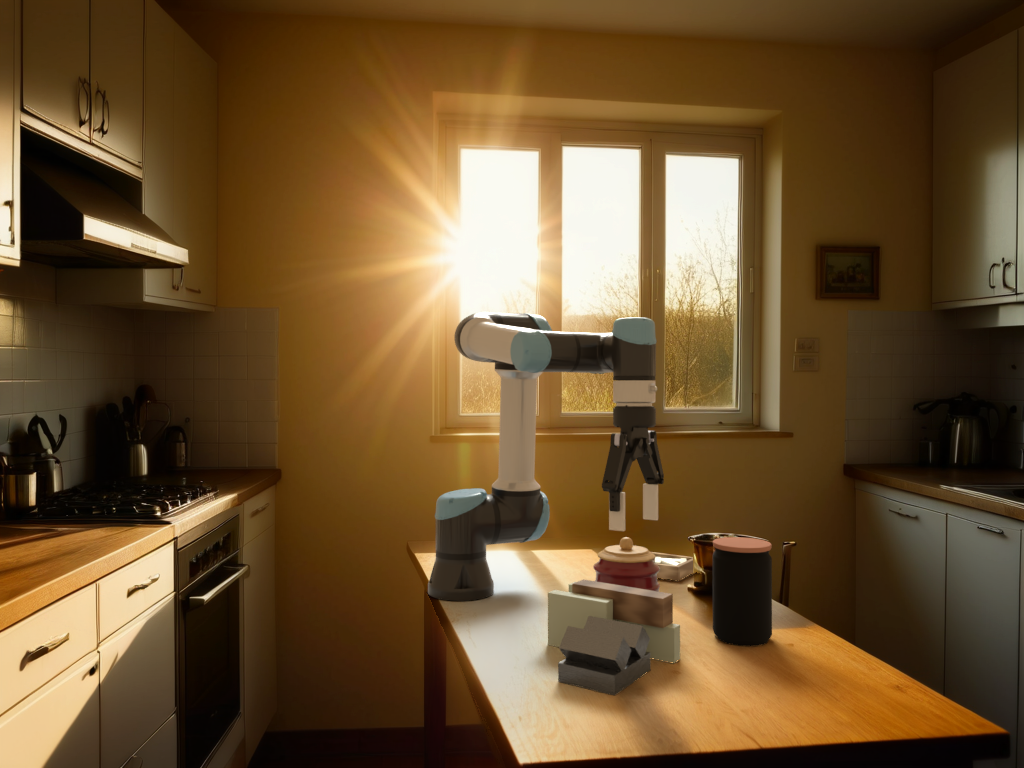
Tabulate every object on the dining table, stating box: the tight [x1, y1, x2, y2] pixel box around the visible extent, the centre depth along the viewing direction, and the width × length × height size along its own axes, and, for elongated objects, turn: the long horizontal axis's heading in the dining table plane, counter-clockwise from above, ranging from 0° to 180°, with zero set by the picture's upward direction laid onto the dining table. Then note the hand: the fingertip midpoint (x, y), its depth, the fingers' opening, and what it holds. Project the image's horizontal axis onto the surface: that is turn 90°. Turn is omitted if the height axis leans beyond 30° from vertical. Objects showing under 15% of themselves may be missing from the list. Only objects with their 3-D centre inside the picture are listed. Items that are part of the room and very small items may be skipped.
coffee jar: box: [712, 536, 773, 647], centre depth 147 cm, size 11×11×18 cm
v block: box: [557, 616, 651, 696], centre depth 127 cm, size 10×13×8 cm
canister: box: [592, 536, 661, 592], centre depth 154 cm, size 13×13×18 cm
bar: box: [572, 579, 674, 628], centre depth 140 cm, size 18×4×5 cm, turn 54°
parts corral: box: [650, 551, 693, 581], centre depth 200 cm, size 14×13×4 cm
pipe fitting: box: [655, 557, 687, 566], centre depth 200 cm, size 8×4×7 cm
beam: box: [547, 581, 681, 664], centre depth 140 cm, size 23×10×10 cm, turn 55°
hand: (634, 524), depth 138 cm, fingers open, 13 cm apart
